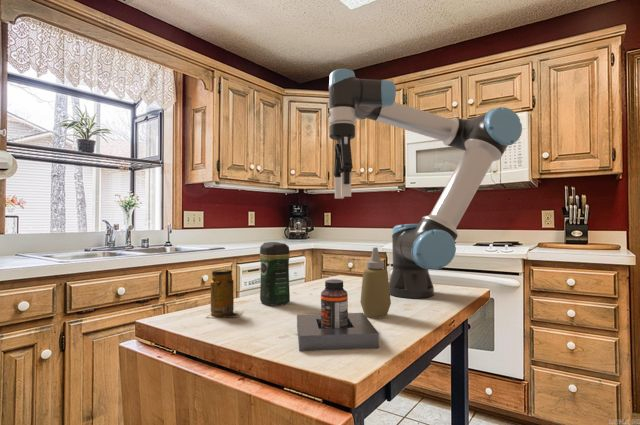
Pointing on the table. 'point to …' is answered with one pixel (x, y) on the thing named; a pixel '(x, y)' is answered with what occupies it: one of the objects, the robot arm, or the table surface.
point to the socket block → (336, 334)
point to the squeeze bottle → (375, 288)
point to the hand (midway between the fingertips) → (342, 197)
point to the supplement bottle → (334, 305)
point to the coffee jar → (274, 273)
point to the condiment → (222, 295)
